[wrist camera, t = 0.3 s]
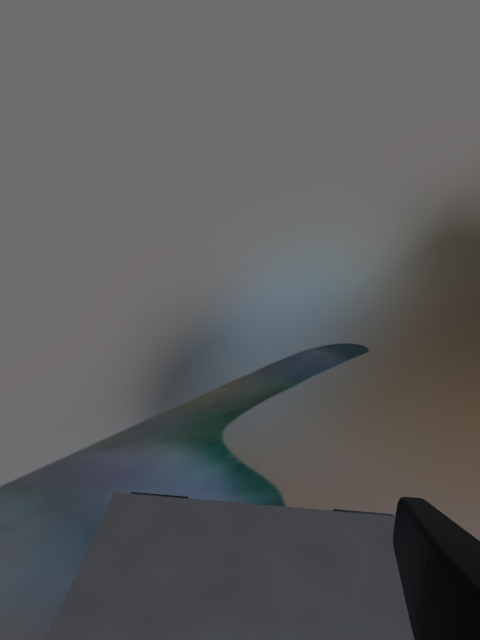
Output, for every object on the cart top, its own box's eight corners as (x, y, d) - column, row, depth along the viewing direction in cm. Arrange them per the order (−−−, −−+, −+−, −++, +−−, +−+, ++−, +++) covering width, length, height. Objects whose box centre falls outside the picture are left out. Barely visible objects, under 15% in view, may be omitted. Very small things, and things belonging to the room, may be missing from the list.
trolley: (481, 931, 14) (541, 819, 12) (17, 878, 14) (-10, 760, 12) (379, 570, 26) (399, 482, 24) (131, 548, 26) (128, 460, 24)
